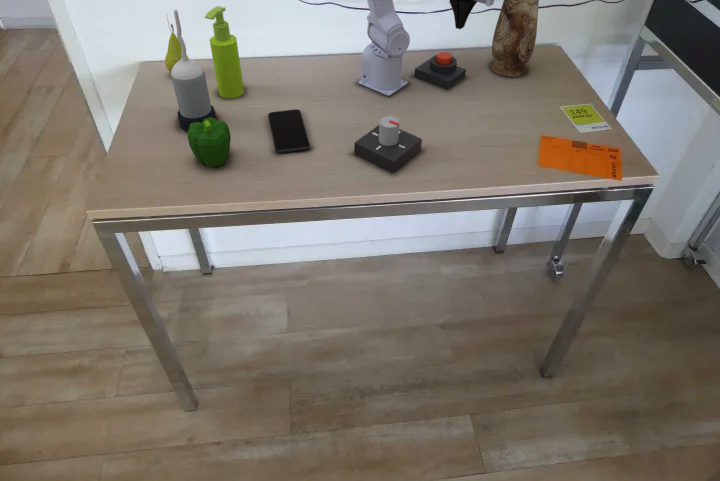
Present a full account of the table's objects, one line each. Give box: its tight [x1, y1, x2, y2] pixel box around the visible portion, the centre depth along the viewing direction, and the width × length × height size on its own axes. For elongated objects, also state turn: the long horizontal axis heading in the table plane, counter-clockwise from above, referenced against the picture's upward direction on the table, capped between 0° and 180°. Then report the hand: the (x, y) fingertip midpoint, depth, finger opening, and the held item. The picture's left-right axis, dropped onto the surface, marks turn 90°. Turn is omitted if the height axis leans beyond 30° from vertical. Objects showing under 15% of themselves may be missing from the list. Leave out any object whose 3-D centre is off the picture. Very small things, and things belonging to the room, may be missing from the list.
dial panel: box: [353, 124, 423, 174], centre depth 117 cm, size 10×10×3 cm
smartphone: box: [267, 109, 311, 154], centre depth 122 cm, size 7×1×15 cm
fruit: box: [164, 23, 190, 73], centre depth 135 cm, size 6×6×12 cm
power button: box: [436, 51, 453, 65], centre depth 138 cm, size 4×4×2 cm
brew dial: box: [378, 116, 401, 146], centre depth 114 cm, size 4×4×5 cm
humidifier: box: [165, 9, 219, 133], centre depth 116 cm, size 8×8×25 cm
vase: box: [491, 0, 540, 78], centre depth 134 cm, size 10×11×30 cm
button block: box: [413, 54, 467, 90], centre depth 140 cm, size 10×8×4 cm
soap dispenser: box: [204, 5, 245, 99], centre depth 127 cm, size 6×7×20 cm
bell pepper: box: [186, 117, 232, 168], centre depth 112 cm, size 8×8×10 cm
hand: (459, 27), depth 137 cm, fingers closed
